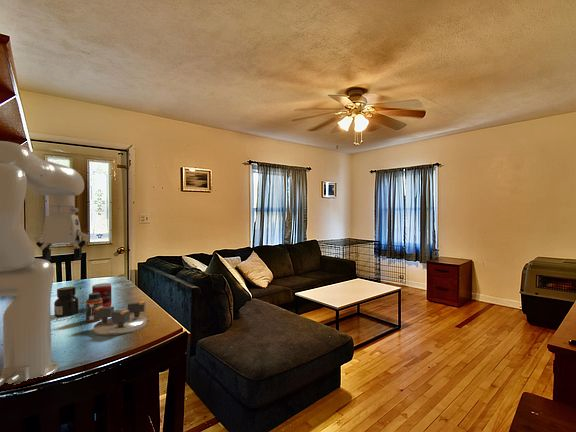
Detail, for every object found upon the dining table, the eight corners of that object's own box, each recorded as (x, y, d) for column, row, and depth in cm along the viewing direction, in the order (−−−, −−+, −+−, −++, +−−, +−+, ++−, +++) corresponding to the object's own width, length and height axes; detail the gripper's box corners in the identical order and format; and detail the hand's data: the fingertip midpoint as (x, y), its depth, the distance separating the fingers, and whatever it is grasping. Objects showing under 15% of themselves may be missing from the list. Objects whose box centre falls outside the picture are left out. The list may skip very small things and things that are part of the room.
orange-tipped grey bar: (114, 320, 116) (113, 306, 116) (110, 322, 113) (109, 307, 113) (99, 320, 116) (98, 306, 116) (94, 322, 113) (94, 308, 113)
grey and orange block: (128, 318, 118) (127, 303, 118) (129, 316, 121) (129, 302, 121) (144, 316, 120) (143, 302, 120) (145, 314, 122) (145, 301, 122)
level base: (137, 333, 107) (137, 323, 107) (83, 338, 104) (83, 327, 104) (152, 317, 125) (152, 308, 125) (106, 321, 122) (106, 311, 122)
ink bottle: (54, 314, 134) (54, 288, 134) (78, 310, 139) (77, 284, 140) (54, 319, 126) (54, 291, 126) (79, 314, 132) (78, 288, 132)
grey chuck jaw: (111, 326, 108) (111, 311, 108) (117, 324, 111) (116, 309, 111) (124, 328, 107) (124, 312, 107) (130, 325, 109) (129, 310, 109)
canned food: (94, 306, 145) (93, 284, 145) (112, 303, 149) (112, 282, 149) (91, 310, 138) (90, 287, 139) (110, 307, 142) (110, 285, 142)
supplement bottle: (94, 322, 120) (94, 295, 120) (82, 322, 121) (81, 295, 122) (106, 318, 126) (105, 291, 126) (94, 317, 127) (94, 291, 127)
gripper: (93, 211, 108) (94, 257, 108) (41, 212, 105) (42, 260, 105) (83, 210, 101) (83, 260, 100) (26, 211, 98) (26, 262, 97)
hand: (62, 260), depth 103 cm, fingers open, 9 cm apart
